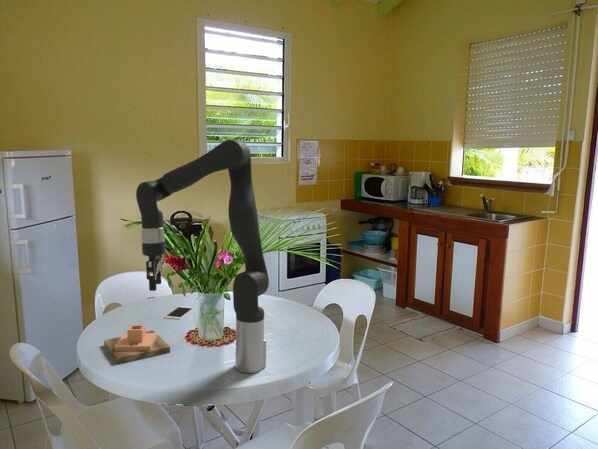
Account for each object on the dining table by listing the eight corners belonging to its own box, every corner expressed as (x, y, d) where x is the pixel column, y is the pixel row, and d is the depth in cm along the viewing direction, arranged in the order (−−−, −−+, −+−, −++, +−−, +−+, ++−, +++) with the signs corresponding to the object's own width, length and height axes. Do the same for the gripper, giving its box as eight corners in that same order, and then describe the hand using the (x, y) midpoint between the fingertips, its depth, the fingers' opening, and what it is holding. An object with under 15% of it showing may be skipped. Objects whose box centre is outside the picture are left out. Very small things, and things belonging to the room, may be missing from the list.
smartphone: (194, 308, 215) (194, 306, 214) (179, 320, 200) (179, 318, 199) (180, 307, 216) (179, 305, 216) (163, 318, 201) (163, 316, 201)
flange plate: (124, 337, 175) (123, 321, 174) (157, 336, 176) (157, 321, 175) (114, 350, 163) (114, 334, 162) (150, 350, 164) (150, 333, 163)
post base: (153, 335, 182) (153, 319, 181) (170, 352, 168) (170, 334, 167) (104, 345, 172) (103, 328, 171) (117, 364, 157) (117, 345, 156)
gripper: (160, 244, 153) (162, 292, 155) (168, 236, 167) (170, 281, 169) (136, 244, 152) (139, 293, 155) (146, 237, 166) (148, 282, 169)
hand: (155, 287), depth 162 cm, fingers open, 8 cm apart
